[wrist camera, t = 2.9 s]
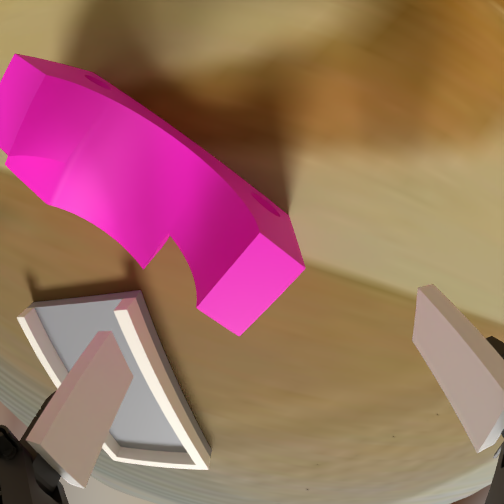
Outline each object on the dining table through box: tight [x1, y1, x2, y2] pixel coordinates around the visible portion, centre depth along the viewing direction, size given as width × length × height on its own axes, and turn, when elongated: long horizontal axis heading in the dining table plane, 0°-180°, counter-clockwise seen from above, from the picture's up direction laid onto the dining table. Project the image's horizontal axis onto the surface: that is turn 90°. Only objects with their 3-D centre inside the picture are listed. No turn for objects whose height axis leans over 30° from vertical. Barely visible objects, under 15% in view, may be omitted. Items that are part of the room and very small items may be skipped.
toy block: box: [0, 54, 305, 336], centre depth 13 cm, size 15×6×8 cm, turn 52°
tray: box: [17, 290, 212, 470], centre depth 22 cm, size 19×11×2 cm, turn 10°
